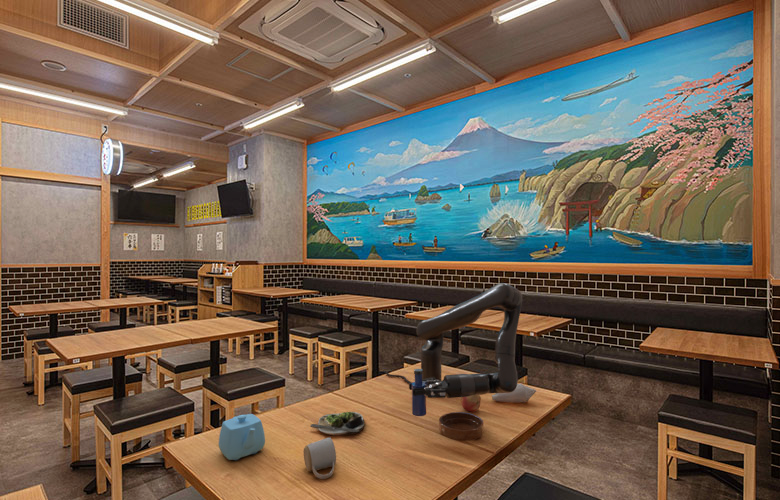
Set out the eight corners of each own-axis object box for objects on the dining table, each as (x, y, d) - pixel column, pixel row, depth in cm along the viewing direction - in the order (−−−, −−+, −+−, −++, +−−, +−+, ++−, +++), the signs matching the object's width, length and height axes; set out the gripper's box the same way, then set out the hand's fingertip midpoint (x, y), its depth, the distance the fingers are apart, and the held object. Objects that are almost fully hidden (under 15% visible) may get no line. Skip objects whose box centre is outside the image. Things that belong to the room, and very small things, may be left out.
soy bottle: (409, 414, 128) (409, 370, 128) (415, 409, 132) (414, 367, 132) (422, 417, 125) (422, 372, 126) (428, 412, 130) (427, 368, 130)
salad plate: (309, 441, 128) (309, 427, 128) (311, 419, 145) (311, 407, 145) (366, 436, 131) (366, 422, 131) (361, 415, 149) (361, 403, 149)
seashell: (515, 420, 160) (539, 394, 158) (499, 409, 155) (524, 383, 153) (504, 405, 167) (527, 380, 166) (488, 395, 162) (512, 369, 161)
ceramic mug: (302, 465, 113) (302, 439, 113) (328, 457, 117) (328, 432, 117) (312, 484, 104) (312, 456, 104) (341, 475, 108) (340, 448, 108)
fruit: (468, 417, 146) (468, 396, 146) (457, 409, 153) (456, 389, 153) (484, 413, 149) (484, 392, 149) (473, 406, 156) (472, 386, 156)
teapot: (233, 472, 109) (233, 432, 110) (214, 449, 123) (214, 413, 123) (274, 457, 118) (274, 420, 118) (252, 437, 131) (251, 403, 131)
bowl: (433, 436, 130) (432, 425, 130) (447, 419, 144) (447, 409, 144) (476, 446, 123) (476, 434, 123) (488, 428, 136) (488, 416, 136)
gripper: (452, 368, 138) (406, 371, 136) (466, 381, 124) (415, 385, 121) (452, 389, 138) (406, 393, 135) (466, 404, 124) (415, 408, 121)
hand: (411, 389), depth 128 cm, fingers closed on soy bottle, 5 cm apart
